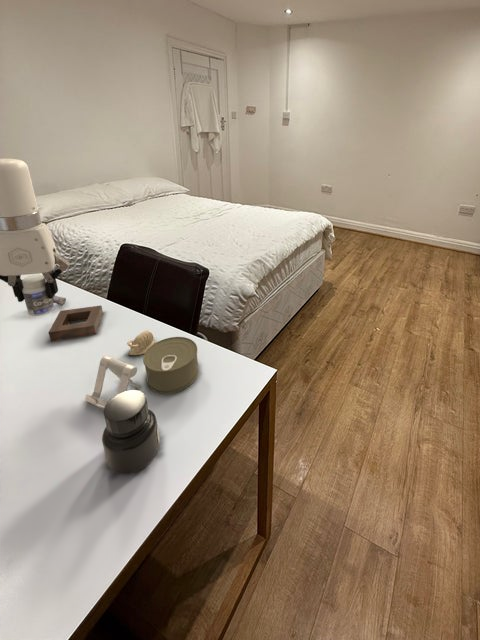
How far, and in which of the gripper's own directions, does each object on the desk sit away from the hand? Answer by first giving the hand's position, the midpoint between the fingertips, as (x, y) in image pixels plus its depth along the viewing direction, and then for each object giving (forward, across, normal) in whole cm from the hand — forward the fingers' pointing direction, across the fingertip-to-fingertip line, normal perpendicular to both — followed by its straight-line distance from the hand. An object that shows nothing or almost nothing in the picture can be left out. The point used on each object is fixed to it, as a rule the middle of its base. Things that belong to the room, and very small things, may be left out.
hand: (38, 296), depth 73 cm
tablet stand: (+20, +15, -14) cm, 29 cm away
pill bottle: (+4, 0, 0) cm, 4 cm away
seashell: (+20, -10, +29) cm, 37 cm away
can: (+20, +27, -11) cm, 36 cm away
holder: (+20, +1, +16) cm, 26 cm away
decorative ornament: (+20, +19, +1) cm, 28 cm away
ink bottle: (+20, +21, -29) cm, 41 cm away
